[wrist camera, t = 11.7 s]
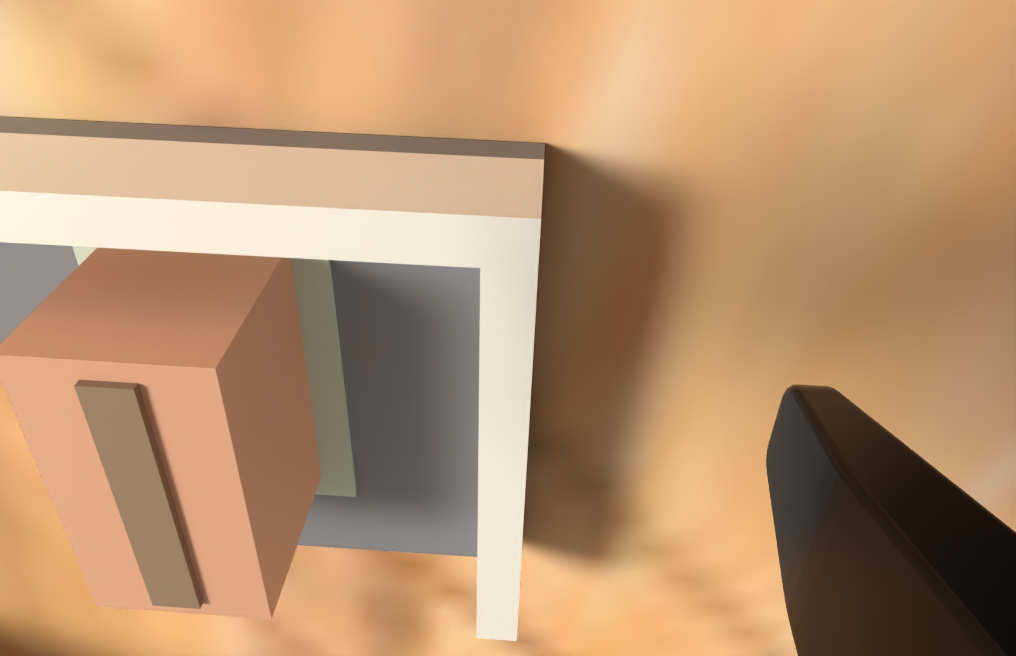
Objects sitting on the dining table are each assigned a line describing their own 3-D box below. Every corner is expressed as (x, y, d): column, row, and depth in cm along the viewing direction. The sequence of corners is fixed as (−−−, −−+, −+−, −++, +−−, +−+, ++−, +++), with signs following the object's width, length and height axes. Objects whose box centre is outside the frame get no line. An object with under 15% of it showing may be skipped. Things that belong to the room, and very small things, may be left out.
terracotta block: (321, 476, 24) (268, 626, 20) (175, 466, 24) (92, 613, 20) (288, 245, 19) (211, 374, 15) (110, 235, 20) (-17, 360, 15)
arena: (545, 143, 19) (541, 219, 16) (522, 536, 27) (516, 640, 24) (-66, 113, 19) (-195, 180, 16) (90, 507, 27) (25, 607, 24)
